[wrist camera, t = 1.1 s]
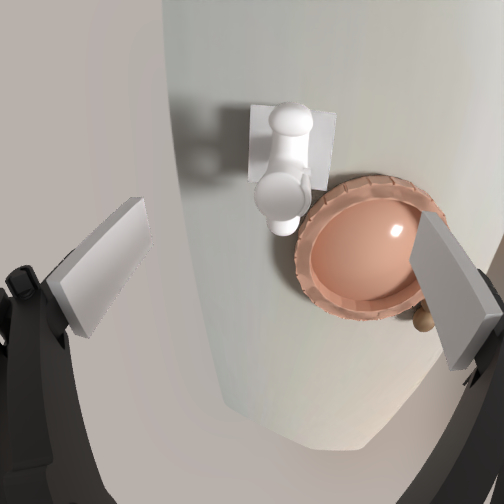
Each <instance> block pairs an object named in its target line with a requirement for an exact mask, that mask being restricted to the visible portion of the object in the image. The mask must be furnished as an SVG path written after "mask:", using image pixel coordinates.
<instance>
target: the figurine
mask: <svg viewBox="0 0 504 504" xmlns="http://www.w3.org/2000/svg"><path fill="white" fill-rule="evenodd" d="M336 117H337V113H331V112H324V111H316V110H309V109H308V108H307V107H306V106H304V105H302V104H300V103H296V102H285V103H281V104H279V105H277V106H264V105H251V110H250V135H249V162H248V182H250V183H258V184H257V185H256V188H255V193H254V198H255V203H256V205H257V207H258V209H259V211H260V212H261V213H262V214H263V215H264V216H266V220H267V225H268V228H269V229H270V231H271V232H272V233H274V234H276V235H279V236H287V235H290V234H292V233H293V232H295V230H296V229H297V227H298V225H299V221H300V217H301V216H303V215H304V214H305V213H306V212H307V211H308V209H309V207H310V204H311V198H312V196H311V189H315V190H323V191H327V185H328V178H329V171H330V164H331V157H332V149H333V142H334V134H335V125H336Z"/></svg>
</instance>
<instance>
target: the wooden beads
mask: <svg viewBox="0 0 504 504" xmlns="http://www.w3.org/2000/svg"><path fill="white" fill-rule="evenodd" d="M421 305H422V307H421V308H419V309H418V310H417V311H416V312H415V313H414V316H413V325H414V327H415V328H416V329H417V330H418V331H420V332H427V331H430V330H431V329H432V328H433V327H434V326H435V324H434V321H433V318H432V315H431V313H430V310H429V307H428V305H427V302H426V300H425V298H424V299H423V300H421Z"/></svg>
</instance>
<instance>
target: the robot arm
mask: <svg viewBox="0 0 504 504" xmlns="http://www.w3.org/2000/svg"><path fill="white" fill-rule="evenodd" d="M152 247H153V240H152V236H151V231H150V228H149V222H148V217H147V213H146V208H145V203H144V198H143V197H131V198H129V199H128V200H127V201H126V202H125V203H124V204H123V205H121V206H120V207H119V208H118V209H117V210H116V211H115V212H113V213H112V214H111V215H110V216H109V217H108V218H107V219H106V220H105V221H104V222H103V223H101V224H100V225H99V226H98V227H97V228H96V229H95V230H94V231H93V232H92V233H91V234H90V235H89V236H88V237H87V238H86V239H85V240H84V241H83V242H82V243H81V244H80V245H79V246H78V247H77V248H76V249H74V250H72V251H71V252H70V253H69V254H68V255H67V256H66V257H65V258H64V260H62V261H61V262H60V263H59V265H58V266H57V267H56V268H54V270H53V271H52V272H51V273H50V274H49V275H48V276H47V277H46V278H45V279H44V280H43V282H42V283H41V284H40V283H39V281H38V279H37V277H36V275H35V272H34V270H33V268H32V267H31V266H30V265H25V266H21V267H19V268H17V269H15V270H14V271H13V272H11V273H10V274H9V275H8V277H7V278H6V280H5V282H6V284H7V286H8V288H9V290H10V292H11V294H12V295H13V297H8V295H7V294H6V292H5V290H4V289H3V288H0V334H1V336H2V337H3V339H4V340H5V342H4V345H2V344H1V343H0V504H117V503H116V502H115V500H114V499H113V498H112V497H111V495H109V493H108V492H107V490H106V489H105V487H104V485H103V482H102V480H101V477H100V474H99V471H98V468H97V465H96V462H95V459H94V457H93V453H92V450H91V447H90V443H89V440H88V437H87V433H86V429H85V425H84V422H83V417H82V413H81V409H80V405H79V400H78V395H77V390H76V385H75V380H74V374H73V368H72V362H71V355H70V347H69V339H68V335H67V333H66V331H65V329H66V328H67V326H68V325H70V327H71V329H72V330H73V332H74V334H75V335H78V336H81V337H85V338H88V339H89V338H90V336H91V335H92V333H93V332H94V330H95V328H96V327H97V325H98V324H99V322H100V321H101V319H102V318H103V316H104V315H105V313H106V312H107V310H108V309H109V307H110V306H111V304H112V303H113V301H114V300H115V298H116V297H117V295H118V294H119V292H120V291H121V289H122V288H123V287H124V285H125V284H126V282H127V281H128V280H129V278H130V277H131V275H132V274H133V272H134V271H135V270H136V268H137V267H138V265H139V264H140V263H141V261H142V260H143V259H144V257H145V256H146V255H147V253H148V252H149V251H150V249H151V248H152ZM409 262H410V264H411V266H412V269H413V271H414V273H415V276H416V278H417V280H418V283H419V285H420V287H421V290H422V292H423V295H424V297H425V300H426V302H427V305H428V307H429V310H430V313H431V315H432V318H433V321H434V324H435V326H436V329H437V332H438V335H439V338H440V341H441V344H442V347H443V350H444V353H445V356H446V360H447V363H448V366H449V370H450V371H454V370H463V369H467V367H468V366H469V365H470V363H471V362H472V360H473V359H475V362H476V365H477V367H476V368H475V369H474V371H473V372H472V373H471V375H470V376H469V377H468V378H467V380H466V381H465V382H464V383H463V385H464V386H465V385H466V384H467V382H468V384H467V386H466V389H465V391H464V393H463V395H462V397H461V400H460V402H459V404H458V406H457V408H456V410H455V412H454V414H453V416H452V418H451V420H450V422H449V423H448V425H447V427H446V429H445V431H444V433H443V434H442V436H441V438H440V440H439V441H438V443H437V445H436V446H435V448H434V450H433V451H432V453H431V455H430V456H429V458H428V459H427V461H426V463H425V464H424V465H423V467H422V469H421V470H420V472H419V473H418V474H417V476H416V477H415V479H414V480H413V481H412V483H411V484H410V486H409V487H408V489H407V490H406V491H405V492H404V494H403V495H402V496H401V497H400V499H399V500H398V501H397V503H396V504H483V503H484V501H485V500H486V498H487V495H488V494H489V492H490V490H491V488H492V485H493V483H494V481H495V479H496V477H497V475H498V477H497V481H496V485H495V488H494V492H493V495H492V498H491V502H490V504H504V303H503V301H502V300H501V297H500V296H499V295H498V293H497V291H496V289H495V288H493V284H492V283H491V281H490V279H489V278H488V277H487V276H486V275H485V274H484V273H483V272H482V271H481V270H480V269H476V267H475V265H474V264H473V262H472V261H471V259H470V258H469V256H468V255H467V254H466V252H465V251H464V249H463V248H462V246H461V245H460V244H459V242H458V241H457V239H456V238H455V237H454V235H453V234H452V233H451V231H450V230H449V229H448V227H447V226H446V225H445V223H444V222H443V221H442V219H441V218H440V217H439V216H438V214H437V213H436V212H429V211H422V214H421V218H420V222H419V226H418V230H417V234H416V237H415V241H414V245H413V248H412V252H411V255H410V258H409Z"/></svg>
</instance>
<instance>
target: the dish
mask: <svg viewBox="0 0 504 504" xmlns="http://www.w3.org/2000/svg"><path fill="white" fill-rule="evenodd" d="M422 211H429V212H436V213H437V214H438V216H439V217H440V218H441V219H442V221H443V222H444V223H445V225H446V226H447V227H448V225H447V222H446V217H445V215H444V213H443V212H442V211H441V209H440V208H439V207H438V206H437V205H436V204H435V202H434V200H433V199H432V198H431V197H430V196H429V195H428V194H427V193H426V192H425V191H424V190H421V189H419V188H417V187H416V186H415V185H414V184H412V183H411V182H409V181H406V180H402V179H399V178H396V177H391V176H383V175H372V176H364V177H359V178H355V179H352V180H349V181H346V182H344V183H342V184H340V185H338V186H336V187H334V188H333V189H331V190H330V191H329V192H327V193H326V194H324V195H323V196H322V197H321V198H320V199H319V200H318V201H317V202H316V203H315V204H314V206H313V207H312V208H311V209H310V211H309V212H308V213H307V216H306V217H305V219H304V221H303V223H302V225H301V226H300V227H299V230H298V240H297V242H296V245H295V254H294V260H295V264H296V277H297V278H298V280H299V282H300V284H301V288H302V290H303V292H304V293H305V294H306V295H307V296H308V297H309V298H310V299H311V301H312V303H314V304H315V305H317V306H319V307H321V308H322V309H323V310H324V311H325V312H328V313H329V314H333V315H336V316H338V317H340V318H342V319H343V318H345V319H353V320H357V321H360V320H362V321H366V320H378V319H380V320H381V319H383V318H386V317H390V316H395V314H397V315H398V314H400V313H401V312H403V311H405V310H408V309H410V308H412V307H411V306H415V305H416V304H417V303H418V302H419V301H421V300H423V299H424V298H425V297H424V295H423V292H422V290H421V287H420V285H419V283H418V280H417V278H416V276H415V273H414V271H413V269H412V266H411V264H410V262H409V258H410V255H411V252H412V248H413V245H414V241H415V237H416V234H417V230H418V226H419V222H420V218H421V214H422ZM448 229H449V227H448ZM449 230H450V229H449ZM450 231H451V230H450Z"/></svg>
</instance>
